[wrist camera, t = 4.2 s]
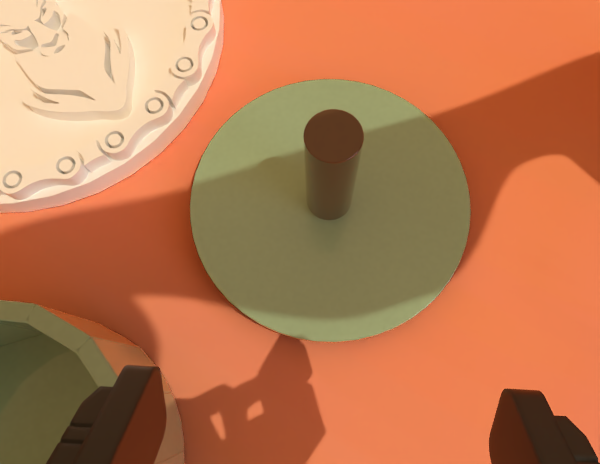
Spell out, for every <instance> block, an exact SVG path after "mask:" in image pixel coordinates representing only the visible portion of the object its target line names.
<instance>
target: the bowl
mask: <svg viewBox="0 0 600 464" xmlns="http://www.w3.org/2000/svg"><path fill="white" fill-rule="evenodd" d="M126 365H141V366H156V365H155V364H154V362H153V361H152V360H151V359H150V357H149V356H148V355H147V354H145V352H144V351H143V350H142V349H141V347H139V346H137V345H135V344H134V343H132V342H131V341H130V340H128V339H127V338H125V337H124V336H122V335H120V334H118V333H116V332H114V331H112V330H110V329H108V328H107V327H105V326H103V325H101V324H100V323H97V322H94V321H91V320H88V319H84V318H81V317H78V316H74V315H71V314H68V313H64V312H61V311H58V310H55V309H51V308H48V307H45V306H41V305H38V304H35V303H26V302H17V301H7V300H0V464H46V463H47V461H48V459H49V457H50V456H51V454H52V452H53V451H54V449H55V447H56V446H57V444H58V443H60V441H61V437H62V435H63V434H64V432H65V430H66V428H67V427H68V426H70V422H71V420H72V418H73V417H74V415H75V413H76V411H77V410H78V408H79V406H80V405H81V403H82V402H83V401H84V400H85V399H86V398H87V397H89V396H90V395H91V394H92V393H93V392H94V391H95V390H97V389H98V388H99V387H100V386H107V387H113V386H114V384H115V382H116V380H117V378H118V376H119V374H120V372H121V371H122V369H123V368H124V366H126ZM161 377H162V384H163V391H164V398H165V405H166V413H167V420H166V428H165V433H164V437H163V440H162V443H161V446H160V449H159V451H158V454H157V457H156V460H155V462H154V464H184V436H183V429H182V422H181V418H180V414H179V411H178V407H177V403H176V401H175V398H174V396H173V393H172V391H171V389H170V387H169V385H168V383H167V381H166V380H165V378H164V376H163V375H162V373H161Z"/></svg>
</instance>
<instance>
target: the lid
mask: <svg viewBox="0 0 600 464" xmlns="http://www.w3.org/2000/svg"><path fill="white" fill-rule="evenodd" d="M470 215H471V209H470V195H469V190H468V185H467V180H466V176H465V174H464V171H463V168H462V165H461V162H460V160H459V158H458V156H457V154H456V152H455V151H454V149H453V147H452V145H451V144H450V142H449V141H448V139H447V138H446V137H445V135H444V134H443V132H442V131H441V130H440V129H439V128H438V127H437V126H436V124H435V123H434V122H433V121H432V120H431V119H430V118H429V117H427V116H426V115H425V114H424V113H423V112H422V111H420V110H419V109H418V108H417V107H415V106H414V105H412V104H411V103H409V102H408V101H406V100H405V99H403V98H401V97H399V96H397V95H395V94H393V93H391V92H389V91H386V90H384V89H381V88H378V87H376V86H373V85H369V84H365V83H361V82H357V81H349V80H341V79H319V80H309V81H303V82H298V83H294V84H289V85H286V86H283V87H280V88H277V89H274V90H272V91H270V92H268V93H266V94H264V95H262V96H260V97H258V98H256V99H255V100H253V101H251V102H250V103H248V104H247V105H245V106H244V107H243V108H241V109H240V110H239V111H238V112H236V113H235V114H234V115H233V116H232V117H231V118H230V119H229V120H228V121H227V122H226V123H225V124H224V125H223V126H222V127H221V128H220V129H219V131H218V132H217V133H216V135H215V136H214V137H213V139H212V140H211V141H210V143H209V145H208V147H207V148H206V150H205V152H204V154H203V155H202V158H201V160H200V163H199V165H198V168H197V170H196V173H195V177H194V181H193V185H192V191H191V200H190V222H191V228H192V234H193V239H194V243H195V246H196V249H197V252H198V255H199V257H200V260H201V262H202V264H203V266H204V268H205V270H206V272H207V274H208V275H209V277H210V278H211V280H212V281H213V283H214V284H215V286H216V287H217V288H218V289H219V290H220V292H221V293H222V294H223V295H224V296H225V297H226V298H227V300H228V301H229V302H230V303H231V304H233V305H234V306H235V307H236V308H237V309H239V310H240V311H241V312H242V313H243V314H244V315H246V316H247V317H249V318H251V319H252V320H254V321H255V322H257V323H258V324H260V325H262V326H264V327H266V328H268V329H270V330H272V331H275V332H277V333H279V334H283V335H286V336H289V337H292V338H295V339H300V340H306V341H312V342H326V343H339V342H349V341H357V340H361V339H365V338H370V337H374V336H377V335H379V334H382V333H384V332H387V331H390V330H392V329H394V328H396V327H398V326H399V325H401V324H403V323H405V322H407V321H409V320H410V319H411V318H413V317H414V316H415V315H417V314H418V313H419V312H421V311H422V310H423V309H425V308H426V307H427V306H428V305H429V304H430V303H431V302H432V301H433V300H434V299H435V298H436V297H437V296H438V295H439V294H440V293H441V291H442V290H443V289H444V287H445V286H446V285H447V283H448V282H449V281H450V279H451V278H452V276H453V274H454V272H455V270H456V269H457V267H458V265H459V263H460V260H461V258H462V255H463V252H464V250H465V247H466V243H467V238H468V234H469V228H470Z"/></svg>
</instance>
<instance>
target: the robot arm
mask: <svg viewBox="0 0 600 464" xmlns="http://www.w3.org/2000/svg"><path fill="white" fill-rule="evenodd" d="M166 420H167V413H166V405H165V398H164V391H163V384H162V377H161V371H160V368H159V367H157V366H141V365H126V366H124V368H123V369H122V371H121V372H120V374H119V376H118V378H117V380H116V382H115V384H114V386H113V387H107V386H100V387H99V388H98V389H97V390H95V391H94V392H93V393H92V394H91V395H90V396H89V397H87V398H86V399H85V400H84V401H83V402H82V403H81V405H80V406H79V408H78V410H77V411H76V413H75V415H74V417H73V418H72V420H71V422H70V426H68V427H67V428H66V430H65V432H64V434H63V435H62V437H61V441H60V443H58V444H57V446H56V447H55V449H54V451H53V452H52V454H51V456H50V457H49V459H48V461H47V463H46V464H154V462H155V460H156V457H157V454H158V451H159V449H160V446H161V443H162V440H163V437H164V433H165V428H166ZM489 451H490V458H491V462H492V464H600V463H598V458H597V456H596V454H595V452H594V450H593V448H592V447H591V445H590V443H589V441H588V439H587V437H586V436H585V435H584V434H583V433H582V432H581V431H580V430H579V429H578V428H577V427H576V426H575V425H574V424H573V423H572V422H571V421H570V420H569V419H568V418H567V417H566V416H554V415H553V413H552V411H551V409H550V407H549V405H548V403H547V401H546V398H545V397H544V395H543V394H542V393H541V392H540V391H536V390H520V389H504V390H503V392H502V394H501V397H500V400H499V404H498V407H497V411H496V415H495V418H494V422H493V425H492V429H491V432H490V438H489Z"/></svg>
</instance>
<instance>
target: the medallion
mask: <svg viewBox="0 0 600 464" xmlns="http://www.w3.org/2000/svg"><path fill="white" fill-rule="evenodd" d="M223 36H224V14H223V8H222V3H221V0H0V213H10V212H30V211H36V210H41V209H46V208H51V207H56V206H62V205H66V204H68V203H71V202H74V201H77V200H80V199H82V198H85V197H88V196H91V195H94V194H96V193H99V192H101V191H103V190H105V189H107V188H109V187H110V186H112V185H114V184H116V183H118V182H120V181H121V180H123V179H125V178H127V177H129V176H131V175H132V174H134V173H135V172H136V171H138V170H139V169H140V168H142V167H143V166H144V165H146V164H147V163H148V162H150V161H151V160H152V159H154V158H155V157H156V156H158V155H159V154H160V153H161V152H162V151H163V150H164V149H165V148H166V147H167V146H168V145H169V144H170V143H171V142H172V141H173V140H174V139H175V138H176V137H177V136H178V135H179V134H180V133H181V132H182V131H183V130H184V129H185V127H186V126H187V124H188V123H189V122H190V120H191V119H192V117H193V116H194V114H195V113H196V111H197V110H198V108H199V107H200V106H201V104H202V103H203V101H204V99H205V97H206V95H207V92H208V90H209V88H210V86H211V84H212V81H213V79H214V77H215V75H216V73H217V68H218V64H219V60H220V56H221V52H222V47H223Z"/></svg>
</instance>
